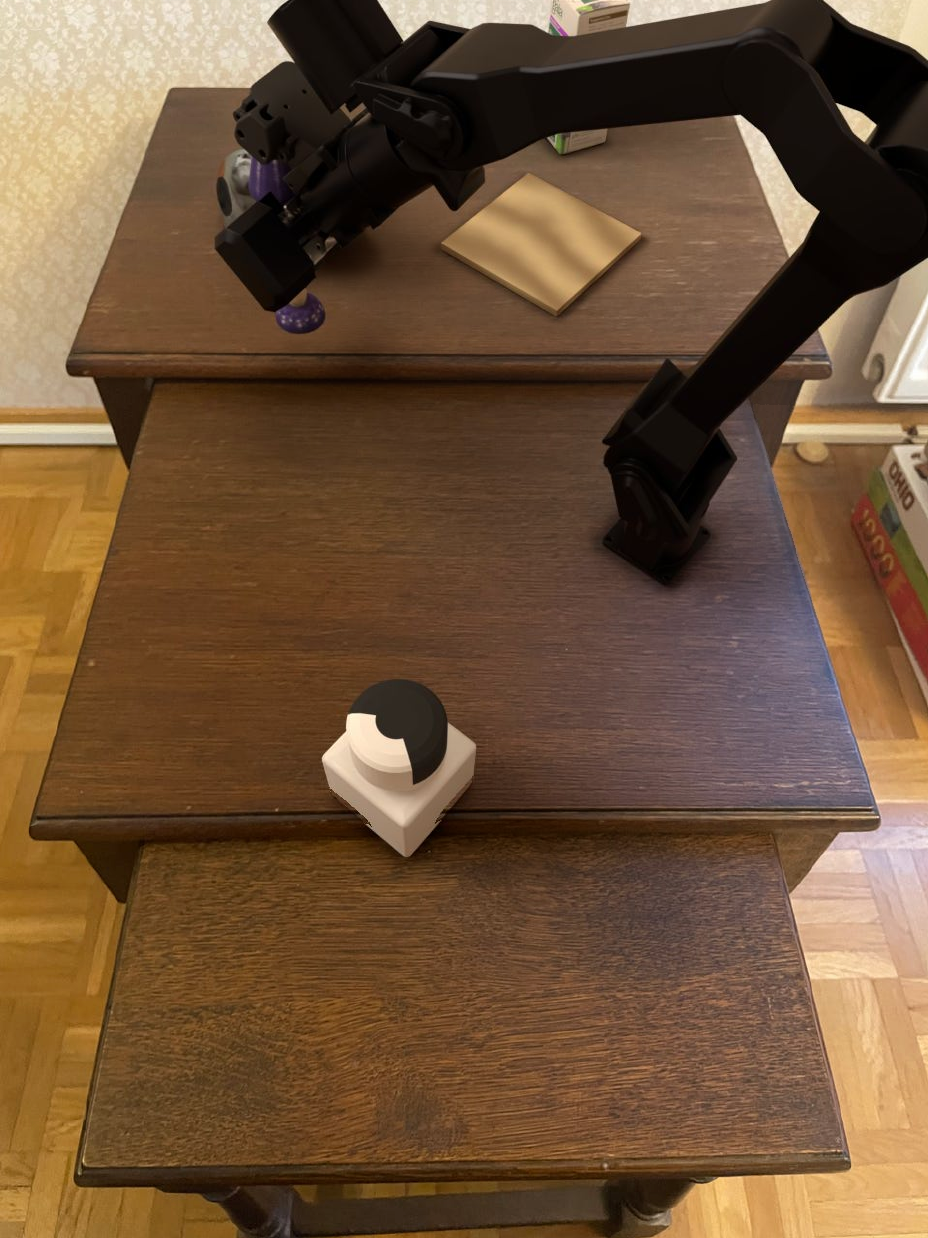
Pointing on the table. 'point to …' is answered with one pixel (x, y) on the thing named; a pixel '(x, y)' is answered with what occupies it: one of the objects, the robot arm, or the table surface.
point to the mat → (541, 243)
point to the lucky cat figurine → (239, 188)
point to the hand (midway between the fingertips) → (276, 239)
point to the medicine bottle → (399, 761)
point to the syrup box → (575, 10)
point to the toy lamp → (305, 307)
